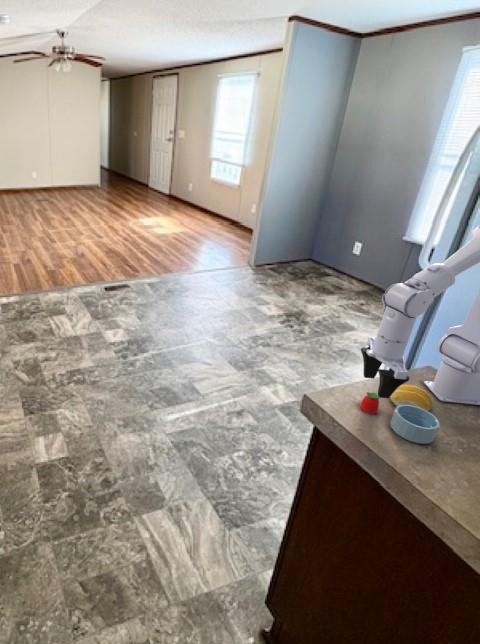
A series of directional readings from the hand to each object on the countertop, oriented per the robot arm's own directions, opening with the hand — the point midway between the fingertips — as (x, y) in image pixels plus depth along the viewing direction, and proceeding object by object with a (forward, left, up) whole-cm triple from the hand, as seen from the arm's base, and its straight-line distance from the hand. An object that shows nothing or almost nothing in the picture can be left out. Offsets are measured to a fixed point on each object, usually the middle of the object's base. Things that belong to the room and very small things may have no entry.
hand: (375, 386), depth 99 cm
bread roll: (-11, -4, -7) cm, 14 cm away
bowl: (-6, +7, -6) cm, 11 cm away
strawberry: (0, 0, -6) cm, 7 cm away
